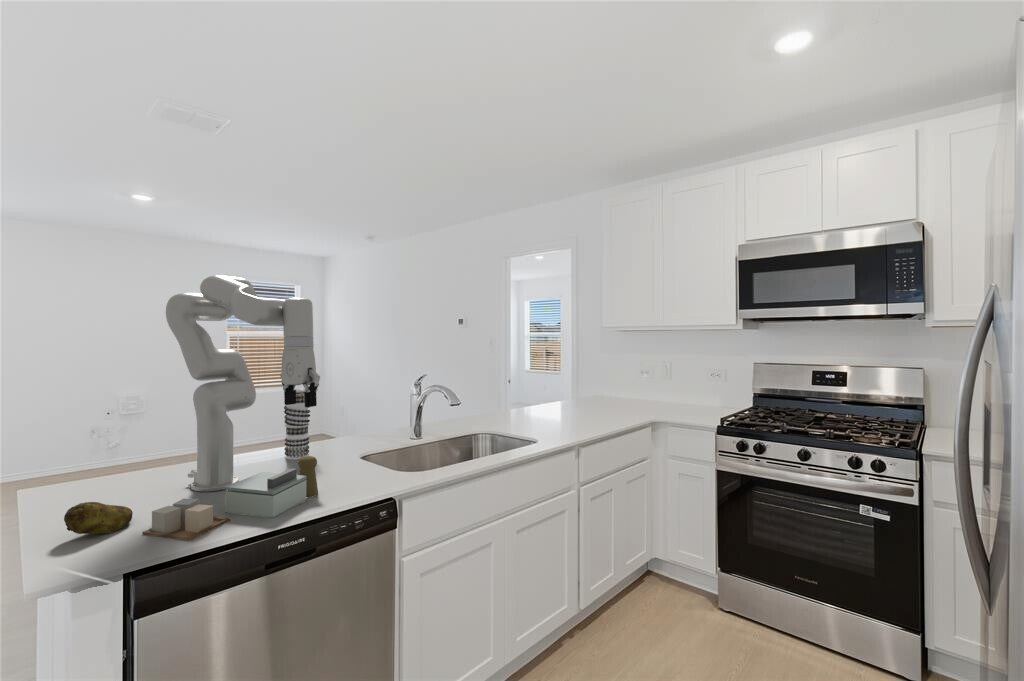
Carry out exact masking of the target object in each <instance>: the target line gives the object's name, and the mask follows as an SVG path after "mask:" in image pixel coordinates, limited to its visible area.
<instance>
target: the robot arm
mask: <svg viewBox="0 0 1024 681" xmlns="http://www.w3.org/2000/svg"><path fill="white" fill-rule="evenodd" d="M199 285H200V286H199V290H200V293H199V292H198V293H197V292H185V293H184V292H183V293H182V292H181V293H177V294H174V295H172V296H171V297H170V298H169V299H168V301H167V302H166V307H165V317H166V318H165V319H166V323H167V324H168V327H169V329H170V330H171V332H172V334H173V336H174V337H175V338H176V339H175V340H177V342H178V345H179V347H180V350H181V351H180V352H181V354H182V356H183V359H184V362H185V365H186V368H187V370H188V373H189V375H190V376H191V377H192V379H194V380H195V381H199V382H200V381H201V382H202V381H203V382H206V383H203V384H200V385H198V386H197V388H196V389H195V390H194V392H193V394H192V395H193V396H192V400H193V407H194V410H195V417H196V455H197V456H196V468H195V469H194V468H193V469H191V470H190V472H189V473H187V478H193V482H191V484H190V489H191V490H192V491H195V492H201V493H202V492H204V493H205V492H217V491H222V490H226V487H227V486H229V485H232V484H234V483H237V482H239V481H240V478H239V477H238V476H235V475H234V439H235V438H234V424H233V421H232V420H231V418H230V417H229V415H228V413H229V412H231V411H238V410H239V411H240V410H244V409H248V408H250V407H252V406H253V405H254V404H255V401H256V398H257V392H256V391H257V390H256V387H255V385H254V381H253V379H252V376H251V374H250V371H249V368H248V365H247V363H246V361H245V359H244V357H243V355H242V354H241V353H240V352H239V351H237V350H235V349H229V348H227V349H226V348H225V349H224V348H222V349H221V348H220V349H218V348H216V347H215V344H214V343H213V340H212V338H211V336H210V334H209V333H208V331H207V330H206V329H205V328H204V327H202V326H201V325H200V324H199V323H198V322H197V321H199V322H200V321H202V322H203V321H204V322H221V321H222V322H223V321H226V320H228V319H230V318H232V317H234V318H236V319H238V320H241V321H242V322H245V323H247V324H250V325H254V326H264V327H265V326H270V327H272V326H273V327H274V326H275V327H283V328H282V330H283V331H282V332H283V350H282V356H281V370H280V371H281V373H280V375H279V376H280V379H281V385H282V386H283V387H282V390H283V392H284V393H283V395H284V403H283V404H284V406H285V405H291V404H296V390H294V389H295V388H296V386H303V388H304V390H306V392H304V396H305V407H309V408H312V407H316V406H317V401H318V400H317V392H318V387H319V385H320V380H321V375H320V374H319V373H317V365H316V357H315V351H314V349H315V348H314V345H315V344H314V318H313V317H314V312H313V302H312V301H311V299H309V298H306V297H305V298H302V297H291V298H286V299H281V298H273V297H272V298H271V297H269V298H268V297H258V296H257V292H256V290H255V289H254V287H253V284H252V283H251V282H250V281H249V279H248V280H247V279H246V278H243V277H238V276H237V277H236V276H230V275H229V276H228V275H221V274H220V275H219V274H217V275H209V276H207V277H206V278H204V279H203V280H202V281H201V283H200V284H199ZM215 380H217V381H215ZM208 381H211V382H208Z"/></svg>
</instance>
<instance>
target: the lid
mask: <svg viewBox="0 0 1024 681" xmlns="http://www.w3.org/2000/svg"><path fill="white" fill-rule="evenodd" d="M297 469H298V468H289V469H287V470H285V471H283V472H282V471H281V472H280V473H278V472H269V471H261V472H258V473H256V474H253V475H251V476H250V477H247V478H244V479H241V480H239V482H237V483H234V484H232V485H229V486H227V487H226V489H225V491H228V490H229V491H240V492H250V493H260V494H270V495H274V494H276V493H278V492H280V491H282V490H284V489H286V488H288V487H290V486H292V485H294V484H296V483H298V482H301V481H303V480H305V479H306V476H304V475H299V474H298V470H297Z"/></svg>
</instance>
